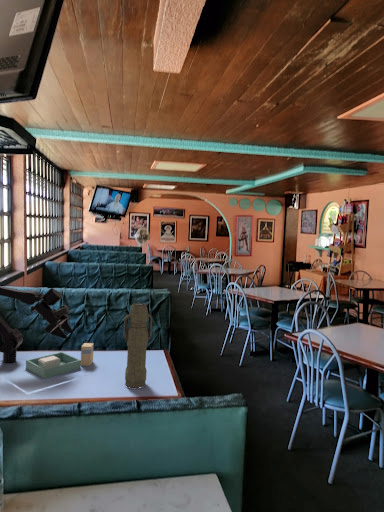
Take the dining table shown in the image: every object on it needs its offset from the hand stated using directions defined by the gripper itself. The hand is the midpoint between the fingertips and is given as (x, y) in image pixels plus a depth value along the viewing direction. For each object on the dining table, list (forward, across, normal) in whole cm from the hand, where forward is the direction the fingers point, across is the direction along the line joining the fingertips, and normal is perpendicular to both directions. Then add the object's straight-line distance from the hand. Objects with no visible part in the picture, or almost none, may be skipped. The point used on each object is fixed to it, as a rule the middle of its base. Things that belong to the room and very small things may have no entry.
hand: (69, 335), depth 173 cm
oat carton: (+16, 0, +4) cm, 17 cm away
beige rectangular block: (+4, -5, +15) cm, 16 cm away
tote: (+6, -7, +14) cm, 17 cm away
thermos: (+35, -21, -13) cm, 42 cm away
